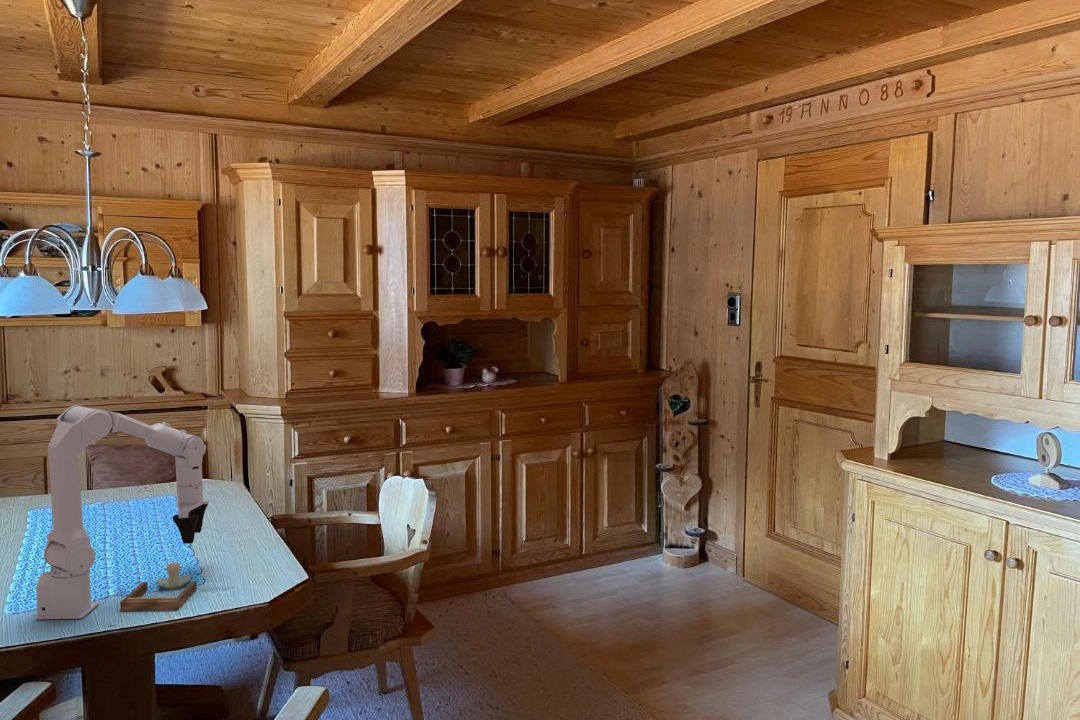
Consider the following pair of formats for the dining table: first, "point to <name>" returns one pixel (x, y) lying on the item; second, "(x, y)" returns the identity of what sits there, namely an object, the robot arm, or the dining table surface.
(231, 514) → the dining table surface
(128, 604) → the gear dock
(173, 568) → the pacifier
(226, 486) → the dining table surface
